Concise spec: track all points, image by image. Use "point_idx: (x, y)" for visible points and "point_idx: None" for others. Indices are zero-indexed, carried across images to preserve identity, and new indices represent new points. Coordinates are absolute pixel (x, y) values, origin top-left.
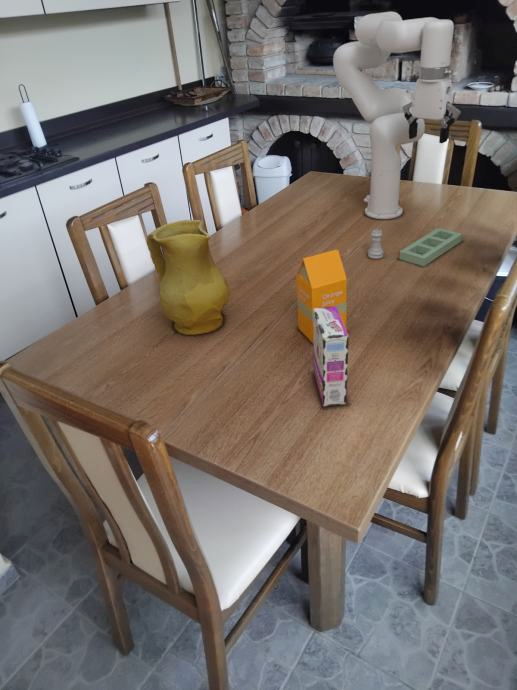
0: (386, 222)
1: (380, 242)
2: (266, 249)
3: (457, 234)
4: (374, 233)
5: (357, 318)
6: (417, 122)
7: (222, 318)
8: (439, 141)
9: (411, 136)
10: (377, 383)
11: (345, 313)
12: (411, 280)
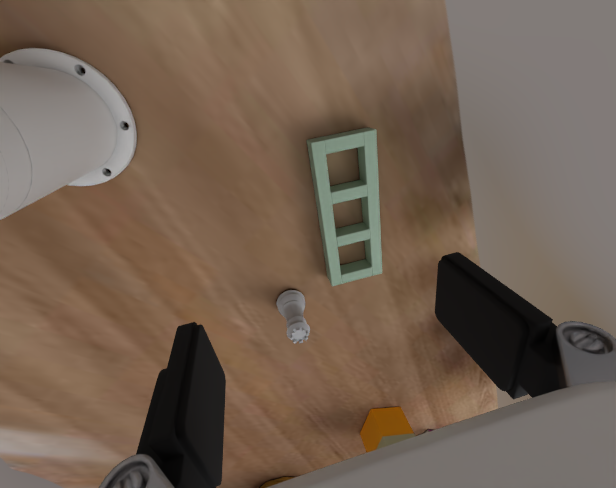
0: (151, 172)
1: (301, 314)
2: (138, 414)
3: (370, 142)
4: (301, 340)
5: (391, 389)
6: (172, 437)
7: (292, 477)
8: (441, 320)
9: (224, 389)
10: (460, 411)
11: (412, 431)
12: (387, 304)
